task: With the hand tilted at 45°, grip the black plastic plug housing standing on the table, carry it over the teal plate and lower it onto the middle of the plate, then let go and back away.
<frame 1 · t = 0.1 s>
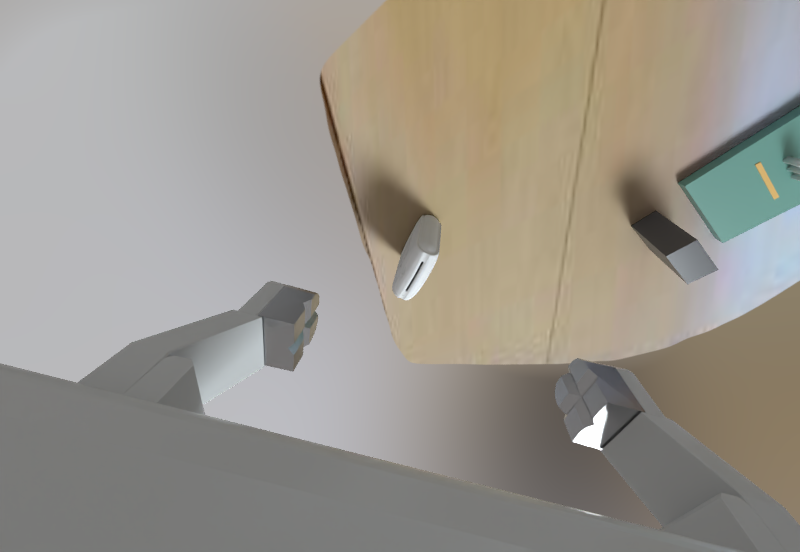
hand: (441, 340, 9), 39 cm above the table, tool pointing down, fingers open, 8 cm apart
plug housing: (653, 231, 44), on the table
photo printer: (420, 239, 51), on the table
teal plate: (780, 164, 37), on the table
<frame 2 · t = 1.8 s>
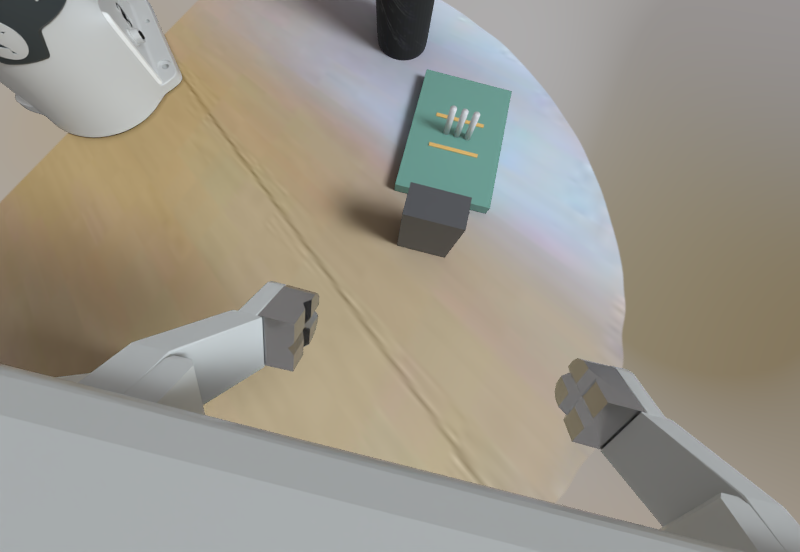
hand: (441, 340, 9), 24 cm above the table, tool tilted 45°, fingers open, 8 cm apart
travel mug: (402, 42, 43), on the table
plug housing: (423, 238, 36), on the table
teal plate: (453, 142, 39), on the table
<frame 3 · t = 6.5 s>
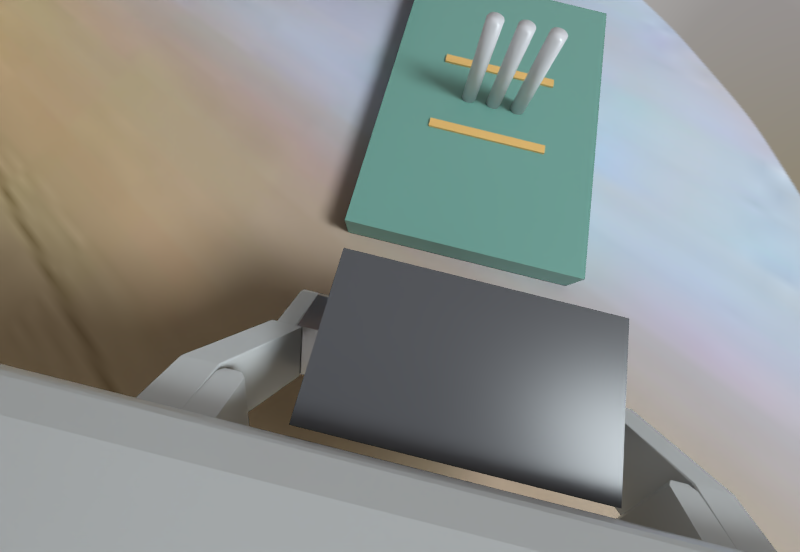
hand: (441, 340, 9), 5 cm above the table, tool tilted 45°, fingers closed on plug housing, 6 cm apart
plug housing: (417, 355, 14), on the table, touching gripper
teal plate: (484, 123, 18), on the table
when the fingers open (8 cm above the table, at t = 11.9 s): plug housing stays where it is, resting on teal plate.
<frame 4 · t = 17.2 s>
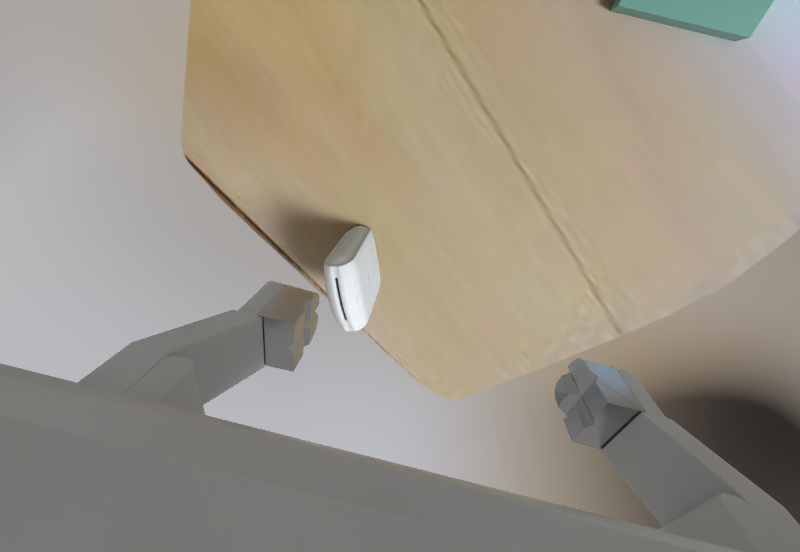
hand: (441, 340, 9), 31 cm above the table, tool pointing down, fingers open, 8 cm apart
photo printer: (365, 257, 44), on the table
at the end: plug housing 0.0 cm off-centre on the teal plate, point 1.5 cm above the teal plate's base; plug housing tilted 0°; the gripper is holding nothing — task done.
